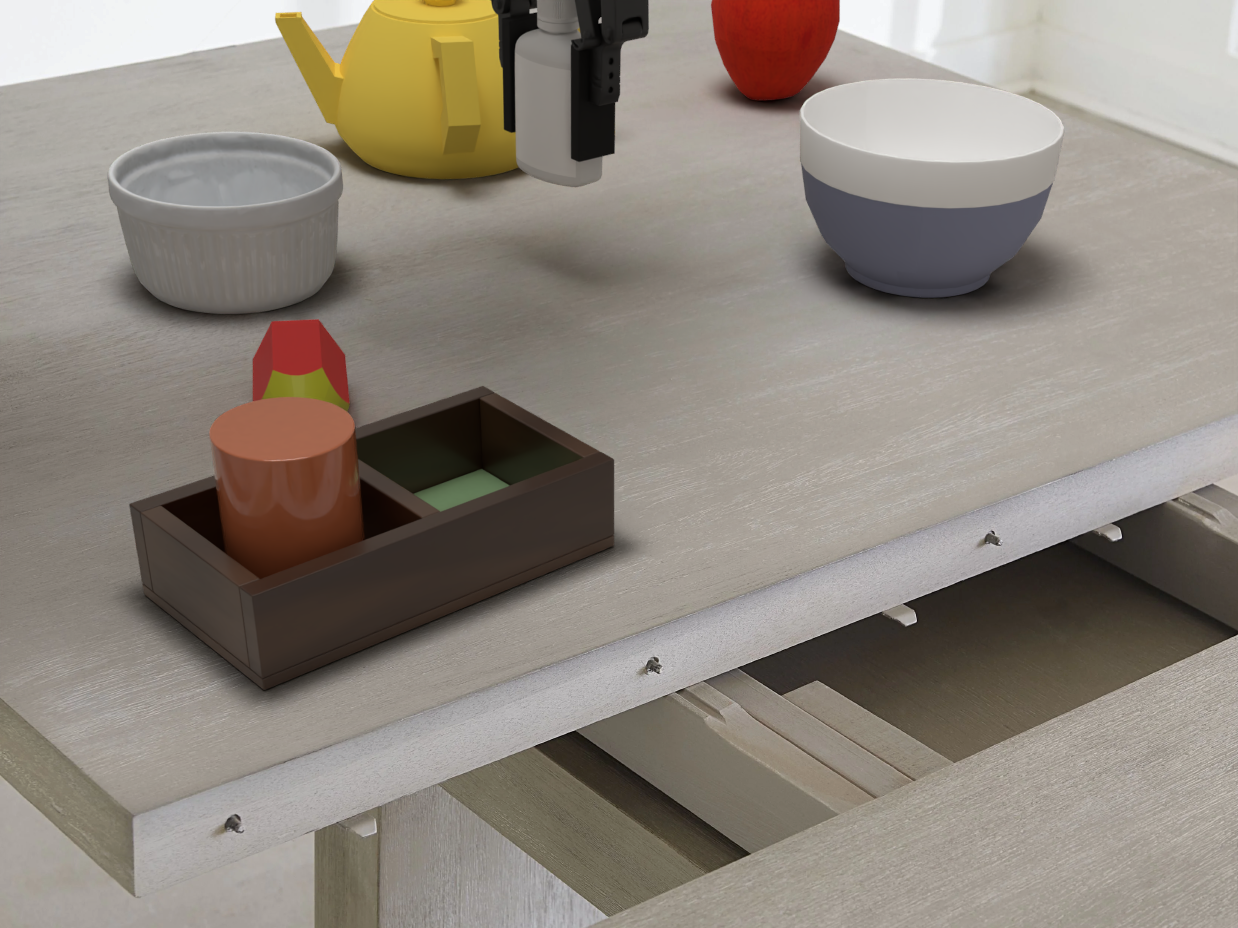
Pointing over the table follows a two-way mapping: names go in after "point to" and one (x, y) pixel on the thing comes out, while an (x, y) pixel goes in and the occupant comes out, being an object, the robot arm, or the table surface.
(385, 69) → the teapot
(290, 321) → the pencil
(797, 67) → the apple
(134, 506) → the divided wooden box
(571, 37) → the eye dropper bottle
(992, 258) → the bowl
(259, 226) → the ramekin
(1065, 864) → the table surface
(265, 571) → the glossy orange cylinder
